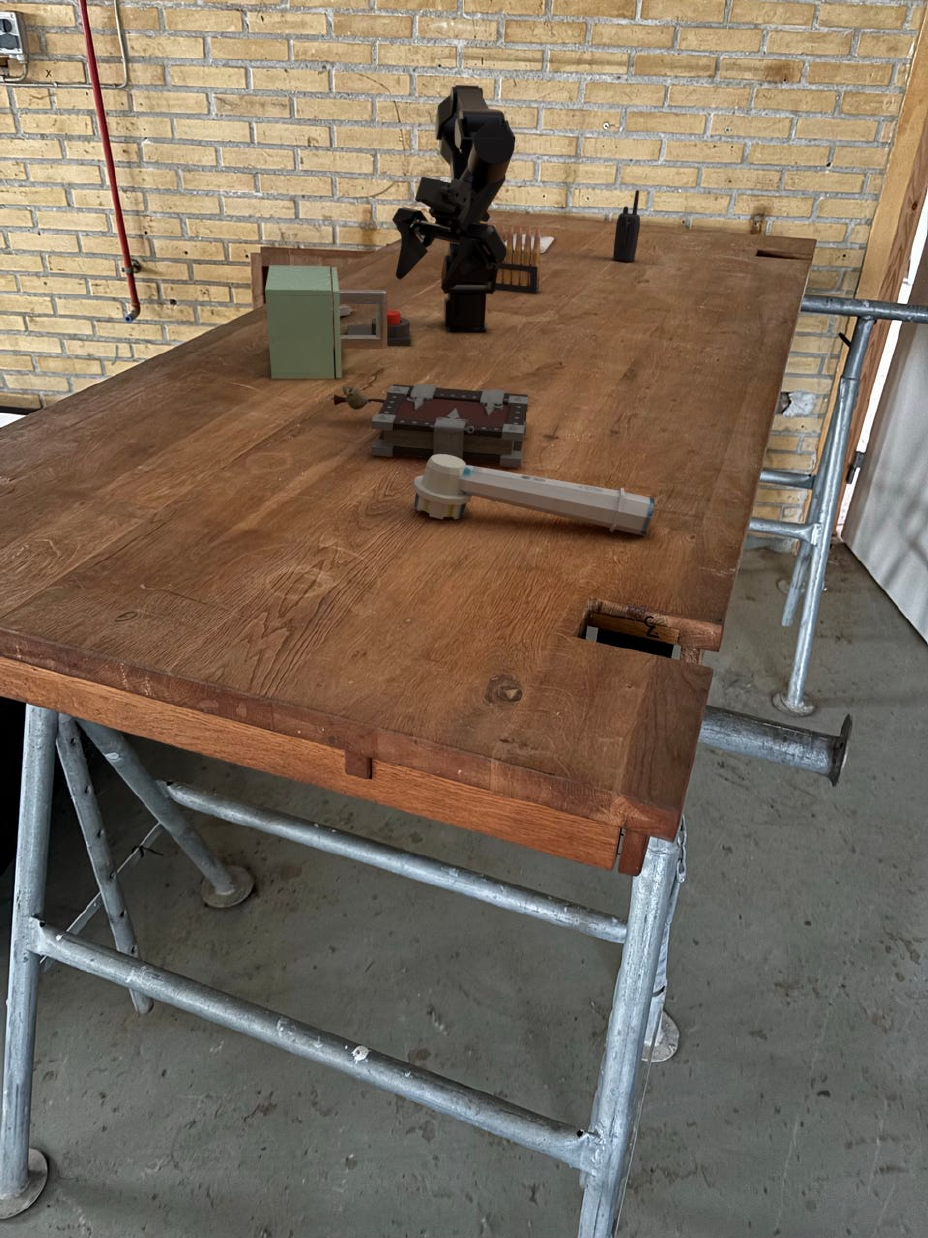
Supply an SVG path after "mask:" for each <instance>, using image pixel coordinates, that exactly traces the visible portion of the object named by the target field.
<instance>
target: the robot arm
mask: <svg viewBox="0 0 928 1238" xmlns="http://www.w3.org/2000/svg"><path fill="white" fill-rule="evenodd" d="M505 117H506V116H505V114H504V112H503V111H502V110H500V109H494V108H489V106H488V104H487V102H486V100H485V98H484V89H483V87H479V85H471V84H470V85H468V84H456V85H455V86H451V89H450V93H449V95H448V96H446V98H445V99H442V101H441V102H440V103H438V105H437V109H436V115H435V121H434V122H435V124H434V137H435V140H436V141H438V145H439V146H438V147H439V154H440V156H441V157H442V158H443V159H444V161H445V162H446V163H447V164H448V166H449V171H450V172H449V173H450V182H449V181H444V180H441V179H437V178H433V177H427V176H421V177H420V181H419V184H418V187H417V190H416V194H415V197H414V201H416V202H417V203H421V204H423V205H425V206H427V208H428V207H429V209H428V214H429V215H430V217H431V218H434V220H435V221H434V222H431V221H429V219H427V217H426V216H425V214H424V212H423V211H422V210H421V209H415V208H412V207H411V208H410V207H406V206H405V207H404V206H403V207H398V209H397V211H396V212H395V214H394V215H393V217H392V218H391V219H392V220H391V221H392V222H393V224H394V225H395V226H396V227H395V228H396V229H397V231H398V233H400V237H401V243H400V250H399V256H398V261H397V265H396V271H395V277H396V278H397V279H398V281H399V280H400V281H401V280H403V279H404V278H405V277H406V276H407V275H408V274H409V273H410V272H411V271H412V270H413V268H415V267H416V265H417V264H418V263H419V262H420V261H421V260H422V259H423V258H424V257H425V255H427V254H428V253H429V250H428V249H427V248H428V247H430V246H432V244H433V243H434V241H435V240H441V241H445V242H448V247H447V252H446V253H447V254H444V257H443V263H442V269H441V275H440V276H441V285H440V289H441V291H442V292H443V294H445V295H447V297H444V298H443V323H444V325H445V326H446V328H447V331H448V332H449V333H487V326H486V310H487V309H486V308H487V295H494V293H496V290H497V289H496V279H497V275H498V270H499V266H500V265H501V263H502V262H503V260H504V258H505V257H506V252H507V248H506V245H505V243H504V242H503V240H502V239H501V237H500V235H499V232H498V230H497V228H496V229H495V227H496V226H495V227H494V226H492V225H493V224H487V223H488V222H489V220H490V218H491V215H490V214H489V212H488V210H489V208H490V206H491V205H492V203H493V202H494V201H495V199H496V197H497V195H498V193H499V191H500V190H501V188H502V186H503V185H504V183H505V181H506V180H507V178H506V177H507V175H506V174H507V172H508V168H509V165H510V163H511V160H512V158H513V154H514V152H515V149H516V148H515V147H516V135H515V133H514V132H513V130H512V128H511V126H510V123H509V120H506V118H505ZM482 222H483V223H482Z"/></svg>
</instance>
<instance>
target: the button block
mask: <svg viewBox="0 0 928 1238" xmlns="http://www.w3.org/2000/svg"><path fill="white" fill-rule="evenodd" d="M370 321H371V323H370V325H369V324H364V325H363V324H347V325H346V335H376V317H374V318H372V319H370ZM411 342H412V340H411V336H410V321H409V319H408V318H405V317H402V316H400V323H399V324H387V347H411V344H412V343H411Z"/></svg>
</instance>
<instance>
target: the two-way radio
mask: <svg viewBox="0 0 928 1238" xmlns="http://www.w3.org/2000/svg"><path fill="white" fill-rule="evenodd" d="M639 198H640V190H639V189H636V190H635V193H634V199H633V206H632V212H631V213H630V212H629V206H624V207H623V209H622V212H621V213H619V215H618V217H617V220H616V225H615V234H614V242H613V254H612V259H614V260H615V261H621V262H622V261H623V262H627V263H631V262H634V261H635V259H636V253H637V247H638V241H639V234H640V228H641V217H640V215H639V214H638V206H639Z"/></svg>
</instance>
